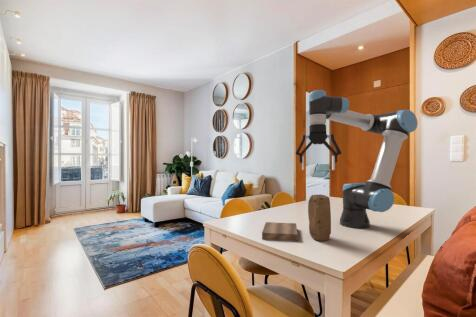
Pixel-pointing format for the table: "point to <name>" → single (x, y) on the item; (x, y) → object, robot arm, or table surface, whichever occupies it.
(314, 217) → the block
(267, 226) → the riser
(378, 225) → the table surface
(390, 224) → the table surface
